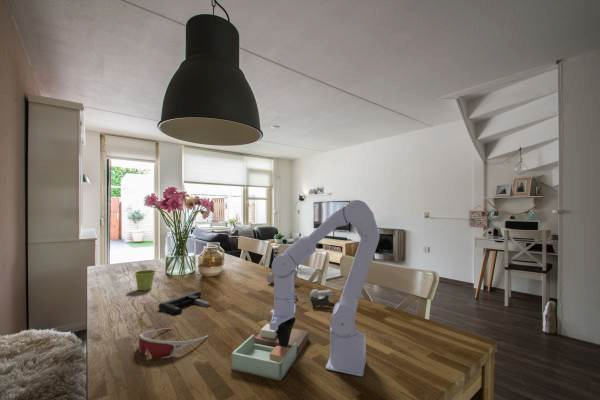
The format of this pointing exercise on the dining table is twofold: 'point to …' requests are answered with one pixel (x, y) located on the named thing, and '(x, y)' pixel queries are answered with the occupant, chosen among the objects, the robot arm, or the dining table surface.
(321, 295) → the clip-on lamp
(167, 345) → the sunglasses
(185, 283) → the dining table surface
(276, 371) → the green bin
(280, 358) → the terracotta tile
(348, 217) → the robot arm
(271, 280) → the seashell
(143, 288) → the plant pot
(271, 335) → the white tile
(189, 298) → the door handle
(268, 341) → the walnut plate
